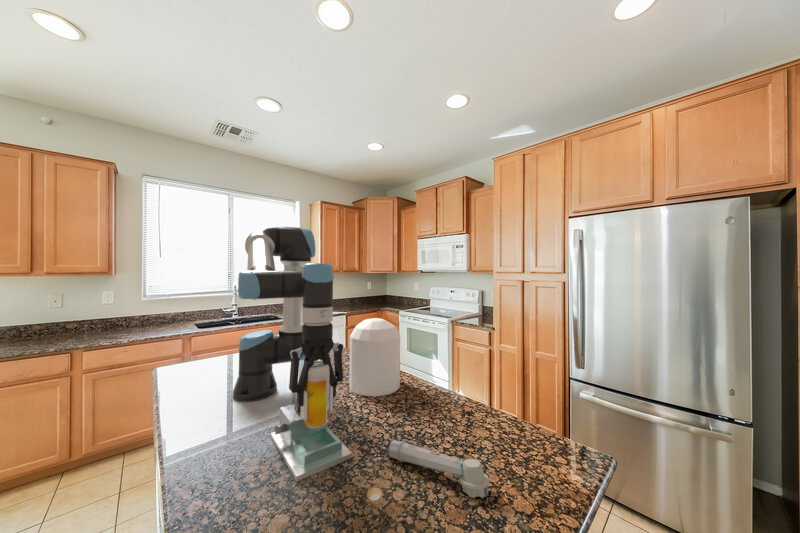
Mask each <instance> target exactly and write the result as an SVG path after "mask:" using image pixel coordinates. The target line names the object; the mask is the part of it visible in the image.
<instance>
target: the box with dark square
mask: <svg viewBox="0 0 800 533" xmlns="http://www.w3.org/2000/svg"><path fill="white" fill-rule="evenodd" d="M300 413H301V407H299V406H298V404H297V400H296V401H294V402H293V404H289V405H285V406H281V407H279V424H278V425H276V426H275V425H274V431H273V432H270V438H271V440H272V442H273V444H274V446H275V447H276V449H277V450H278V452H279V454H280V456H281V458H282V459H283V461H284V463H285V464H286V466H287V468H288V470H289V471H290V473H291V475H292V477H293V479H294V480H295V482H296V483H297V482H299V481H302V480H304V479H306V478H308V477H311V476H313V475H315V474H318V473H320V472H322V471H324V470H327V469H330V468H332V467H334V466H337V465H338V464H340V463H343V462H345V461H348V460H350V459H352V458H353V452H352V451H351V450H350V449H349V447H347V446H346V445H345V444H344V443H343V441H342V440H341V439H340V438H339V437H338V436H337V435H336V434H335V433H334V432H333V431H332V430H331V429H330V428H329V427H328V423H327V424H326V425H325V426H323V427H321V428H317V429H312V428H308V427H307V425H306V424H305V423H304V420H303V419H302V418H301V416H300Z"/></svg>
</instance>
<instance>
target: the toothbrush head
mask: <svg viewBox="0 0 800 533" xmlns="http://www.w3.org/2000/svg"><path fill="white" fill-rule="evenodd" d="M386 456H387V457H389V458H391V459H395V460H398V461H399V462H400V463H403V462H405V463H410V464H413V465H417V466H421V467H425V468H427V469H432V470H435V471H440V472H444V473H447V474H451V475H456V476H458V480H459V483H460V484H461V488H463V489H462V492H463V493H465V494H466V495H468V496H467V497H469V498H472V499H476V497H480V498H481V499H484V498H485V497H488V494H489V484H490V478H489V476H488V475H487V474H485V473H484V468H483V465H482V463H481V462H480V461H479V460H477V459H474V458H467V459H465V460H464V459H463V460H462V459H460V458H457V457H452V456H449V455H446V454H443V453H440V452H436V451H434V450H431V449H427V448H423V447H420V446H417V445H414V444H411V443H407V442H406V441H405V440H402V441H399V440H395V439H391V440H390V441H389V442H388V443H387V446H386Z"/></svg>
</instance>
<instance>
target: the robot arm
mask: <svg viewBox="0 0 800 533" xmlns="http://www.w3.org/2000/svg"><path fill="white" fill-rule="evenodd" d="M244 248H245V251H246V252H245V253H246V254H247V269H246V270H241V271H240V272H239V273H238V279H237V281H238V282H237V284H238V285H237V286H238V288H237V289H238V290H237V292H238V293H237V295H238V298H240V299H241V300H254V301H255V300H267V299H283V306H282V307H283V308H282V309H283V310H282V314H283V315H282V325H281V326H280V327H279V328H278V333H274V331H273V330H271V329H266V330H265V329H263V330H257V331H253V332H249V333H247V334H244V335H243V336H241V338H240V339H239V343H238V344H239V345H238V349H237V350H238V351H239V352H238V376H237V379H236V382H235V385H234V388H233V391H232V398H233V399H234V400H235V401H237V402H247V403H249V402H255V401H260V400H264V399H267V398H270V397H271V396H273V395H275V393H277V390H278V384H277V383H278V382H277V381H276V377H275V375H274V371H273V365H277V364H285V363H290V369H289V371H290V372H289V384H288V389H289V390H290V392H291V393H292V394H295V393H296V401H297V404H298V406H299V407H301V413H300V416H301V418H302V419H303V420H304V421H305V420H307V396H308V393H307V392H306V391H305V388H306V384H307V381H308V372H309V369H310V367H312V366H313V364H314V362H316V361H323V363H324V364H326V365H327V364H328V366H329V368H330V381H329V414H330V413H333V412H334V409H333V408H334V398H335V397H336V395H337V386H338V385H339V382H342V381H343V380H344V375H343V374H344V373H343V348H344V345H343V343H340V342H334V341H333V333H334V332H333V329H334V328H333V326H334V325H333V324H332V322H333V317H334V316H333V314H334V313H333V312H334V310H333V309H334V306H333V304H334V302H333V301H334V296H333V295H334V278H335V275H334V269H333V267H334V266H333V265H332V264H331V263H327V262H326V263H324V262H322V263H320V262H319V263H318V262H317V263H316V262H314V263H313V262H312V260H311V259H313V258H315V256H316V242H315V236H314V234H313V231H312V230H311V229H310V228H304V227H300V226H299V227H293V226H280V225H279V226H276V225H268V226H263V227H260V228H257V229H255V230H254V231H252V232H251V233H250V234H249V235H248V236H247V238H246V240H245V243H244ZM274 257H279V261H280V263H281V264H282V265H283V270H276V266H275V264H276V263H275V260H274ZM332 350H333V363H334V364H333V365H332V362H331V360H332V359H331V356H330V353H331V351H332ZM300 361H303V366H302V370H301V371H300ZM333 366H334V370H333ZM299 371H300V376H299Z"/></svg>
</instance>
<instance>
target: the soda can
mask: <svg viewBox="0 0 800 533" xmlns="http://www.w3.org/2000/svg"><path fill="white" fill-rule="evenodd" d="M329 381H330V368H329V366H328V364H327V365H326V364H324V363H323V361H322V360H317V361H314V364H313V366H312V367H310V369H309V372H308V381H307V384H306V388H305V391H306V392H307V393H308V396H307V420H305V421H304V423H305V424H306V425H307V427H308V428H312V429H317V428H321V427H323V426H325V425H326V424H327V425H328V422H329V421H330V412H329Z"/></svg>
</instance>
